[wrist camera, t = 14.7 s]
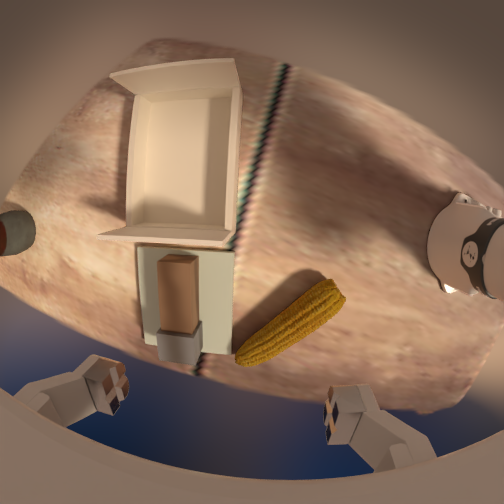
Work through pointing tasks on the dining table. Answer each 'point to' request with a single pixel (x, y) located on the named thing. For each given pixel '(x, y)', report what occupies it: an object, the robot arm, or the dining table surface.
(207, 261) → the board
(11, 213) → the bottle
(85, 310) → the dining table surface
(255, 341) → the food
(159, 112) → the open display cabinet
